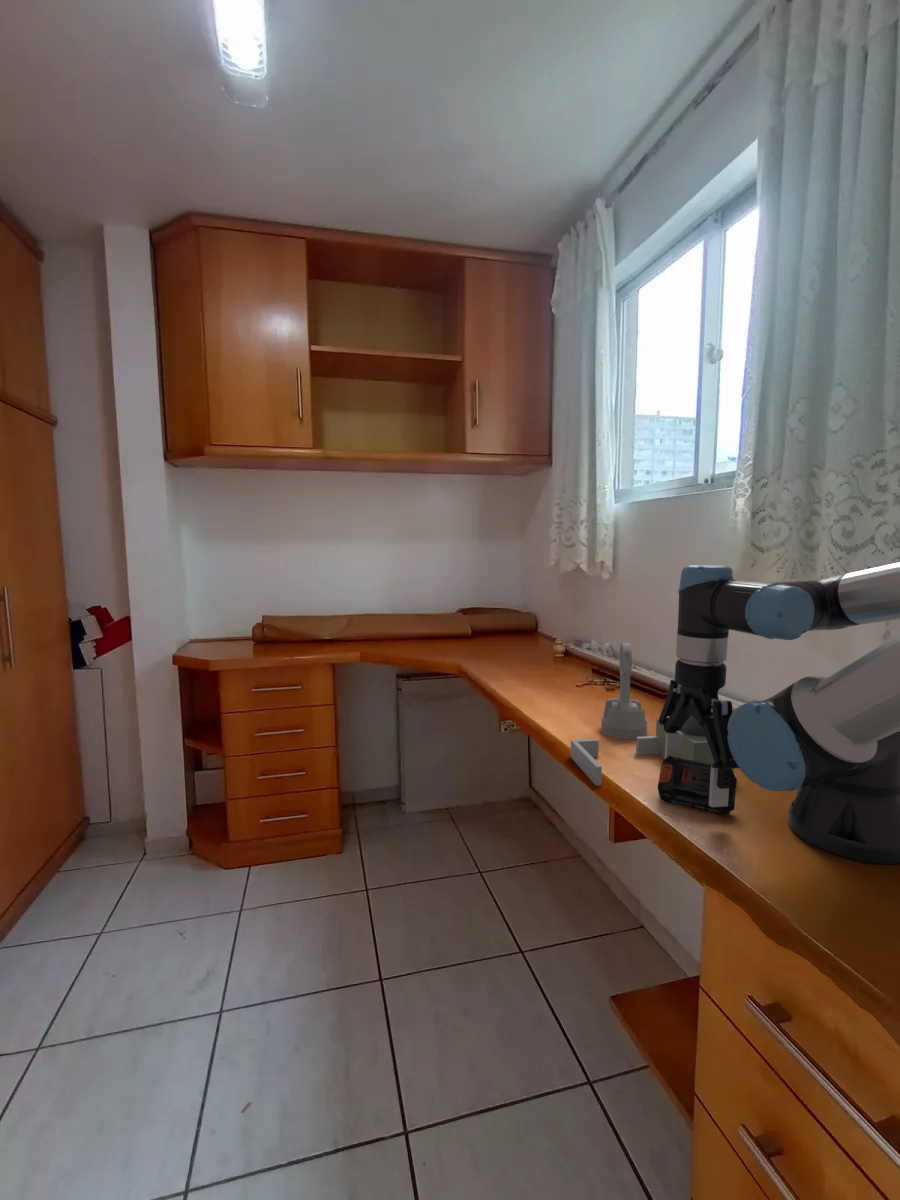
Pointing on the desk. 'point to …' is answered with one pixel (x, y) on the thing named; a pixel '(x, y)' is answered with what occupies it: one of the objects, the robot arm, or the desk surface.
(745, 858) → the desk surface
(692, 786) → the battery
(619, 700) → the engine component
